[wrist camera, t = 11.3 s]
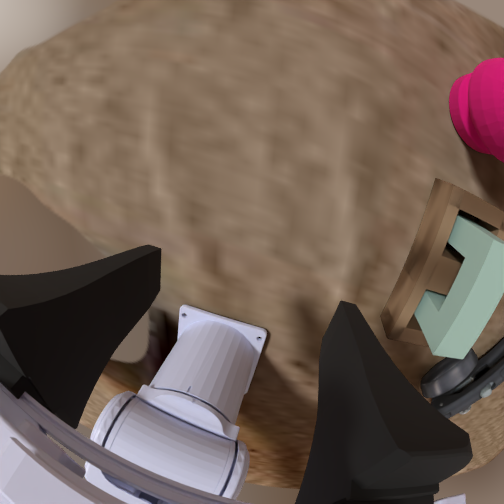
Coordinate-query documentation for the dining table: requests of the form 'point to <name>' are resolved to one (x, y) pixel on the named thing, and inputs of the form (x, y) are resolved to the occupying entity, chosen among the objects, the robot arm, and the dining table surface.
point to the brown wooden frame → (434, 258)
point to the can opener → (463, 380)
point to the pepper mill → (480, 107)
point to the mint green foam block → (464, 292)
